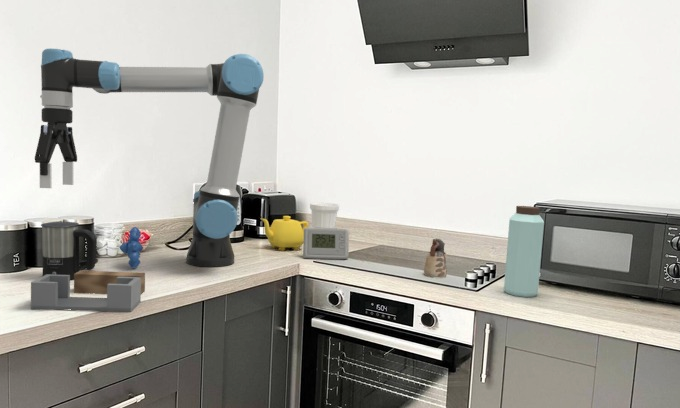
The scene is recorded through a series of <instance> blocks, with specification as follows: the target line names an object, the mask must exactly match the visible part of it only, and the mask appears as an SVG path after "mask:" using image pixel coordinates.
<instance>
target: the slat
mask: <svg viewBox="0 0 680 408" xmlns="http://www.w3.org/2000/svg"><path fill="white" fill-rule="evenodd" d="M117 277H141V295H143V293H145V291H146V272H135V271H133V272H132V271H108V270H106V271H104V270H82V271H81V270H80V271H79V272H77V273H75V274H74V279H73V293H74V294H89V293H90V294H91V295H92V294H93V293H95V295H97V294H98V295H99V294H100V295H107V285H108V284H117Z"/></svg>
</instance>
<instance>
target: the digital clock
mask: <svg viewBox="0 0 680 408" xmlns="http://www.w3.org/2000/svg"><path fill="white" fill-rule="evenodd" d="M349 233H350V232H349V230H348V228H338V227H335V228H312V227H308V228H305V229H304V243H303V244H302V246H303V249H302V252H303V255H302V256H303V258H304V259H310V260H311V259H313V260H328V261H329V260H330V261H331V260H332V261H334V260H335V261H337V260H338V261H339V260H348V259H349V255H350V254H349V252H350V251H349V249H350V248H349V247H350V246H349V239H350V238H349Z"/></svg>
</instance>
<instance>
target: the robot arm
mask: <svg viewBox="0 0 680 408" xmlns="http://www.w3.org/2000/svg"><path fill="white" fill-rule="evenodd" d="M40 68H41V69H40V70H41V72H40V73H41V77H40V78H41V79H40V80H41V81H40V82H41V94H40V99H41V106H42V107H43V108H41V122H43V123H47V124H41V125H40V133H39V138H38V141H37V146H36V150H35V155H34V162H35V163H38V164H39V189H52V186H53V185H52V184H53V183H52V182H53V181H52V179H53V178H52V163H51V159H52V157H53V153H54V151H55V148H56V147H57V145H58V148H59V151H60V153H61V155H62V159H63V161H62V185H66V186H74V163H77V162H78V155H77V150H76V146H75V139H74V136H73V127H72V126H67V124H72V123H73V111H72V108H73V107H74V102H73V95H74V94H73V88H83V89H92V90H93V91H95V92H96V93H99V94H109V93H207V94H209V95H210V96H216V98H217V100H218V102H219V104H220V108H219V111H218V113H219V114H218V118H217V123H216V130H215V136H214V141H213V146H212V152H211V158H210V163H209V169H208V174H207V180H206V184H205V185H204V186H202V187H201V188H200V189H199V190H197V191H195V192H194V194H193V198H192V202H193V213H192V218H193V219H192V224H193V225H192V239H191V243H190V245H189V247H188V250H187V253H186V257H185V258H186V262H185V263H187V264H188V265H191V266H195V267H208V268H209V267H211V268H213V267H225V266H231V265H234V264H235V253H234V249H233V246H232V242H231V238H230V237H231V234H232V233H233V231H234V230H235V228H236V227H237V225H238V220H239V218H238V206H239V202H240V197H241V196H240V194H239V192H238V191H237V184H238V178H239V174H240V173H239V172H240V167H241V163H242V157H243V151H244V145H245V141H246V140H245V139H246V136H247V135H246V134H247V130H248V128H247V127H248V123H249V117H250V112H251V110H252V109H253V108H255V107H256V106H257V104H258V103H257V102H258V97H259V92H260V91H259V90H260V88H261V87H262V85H263V82H264V69H263V67H262V65H261V63H260V62H259V61H258V60H257V59H256V58H255V57H254V56H252V55H250V54H246V53H237V54H233V55H231V56H230V57H229V56H228V58H226V60H225V61H224V62H221V63H213V64H212V63H210V64H208V65H207V66H205V67H202V66H201V67H191V66H190V67H187V66H185V67H183V66H182V67H181V66H180V67H179V66H178V67H177V66H176V67H175V66H120V64H118V63H117V62H112V61H108V60H103V61H102V60H92V59H91V60H89V59H88V60H87V59H76V58H74V55H73V52H72V51H70V50H68V49H67V50H66V49H61V48H45V49H44V50H42V52H41V65H40Z"/></svg>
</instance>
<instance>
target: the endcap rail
mask: <svg viewBox="0 0 680 408" xmlns="http://www.w3.org/2000/svg"><path fill="white" fill-rule="evenodd" d="M70 285H71V280H70V275H52V274H46V275H44V276H43V277H42V276H41V277H39V278H37V279H35V280H33V281H31V282H30V310H40V309H71V310H70V311H76V310H97V311H96V312H112V313H113V312H114V313H115V312H116V313H117V312H119V313H120V312H121V313H122V312H123V313H131V312H132V311H134V309H136V308H137V307H138V305H139V304H140V303H141V300H142V299H141V295H142V294H141V277H117V284H108V285H107V294H106V297H84V296H81V297H80V296H71V295H70V294H71V289H70V288H71V286H70Z"/></svg>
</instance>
